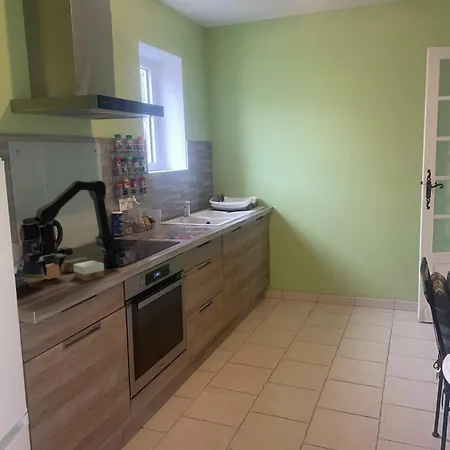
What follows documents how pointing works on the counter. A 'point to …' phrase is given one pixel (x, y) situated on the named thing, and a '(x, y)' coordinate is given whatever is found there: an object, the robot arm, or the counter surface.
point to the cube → (52, 271)
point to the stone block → (69, 263)
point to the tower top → (88, 267)
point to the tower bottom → (89, 275)
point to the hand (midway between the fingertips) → (51, 274)
